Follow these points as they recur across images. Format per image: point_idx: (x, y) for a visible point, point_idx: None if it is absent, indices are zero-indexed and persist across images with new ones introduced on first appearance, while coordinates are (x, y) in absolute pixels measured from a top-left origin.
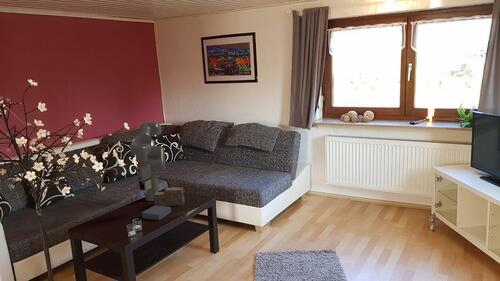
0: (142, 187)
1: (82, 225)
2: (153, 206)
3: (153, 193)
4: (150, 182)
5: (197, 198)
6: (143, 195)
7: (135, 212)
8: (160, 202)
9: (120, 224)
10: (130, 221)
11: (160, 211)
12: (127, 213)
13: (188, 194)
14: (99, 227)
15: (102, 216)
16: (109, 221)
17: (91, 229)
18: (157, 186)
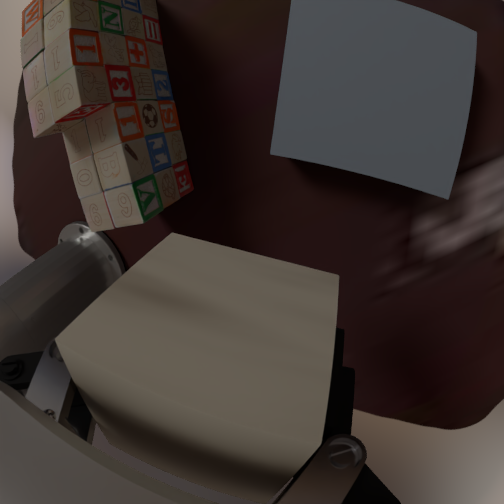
0: (343, 377)
1: (441, 423)
2: (296, 148)
3: (80, 268)
4: (113, 303)
5: None
6: None
7: None
8: (168, 149)
9: (497, 290)
10: (472, 251)
11: (416, 30)
12: None
13: (22, 95)
14: (492, 365)
15: (360, 409)
16: (437, 362)
17: (498, 380)
18: (31, 267)
